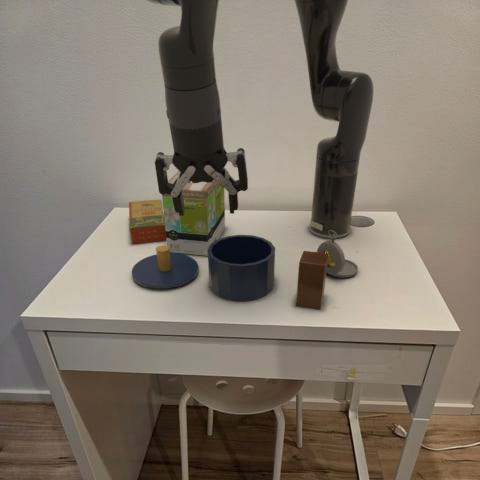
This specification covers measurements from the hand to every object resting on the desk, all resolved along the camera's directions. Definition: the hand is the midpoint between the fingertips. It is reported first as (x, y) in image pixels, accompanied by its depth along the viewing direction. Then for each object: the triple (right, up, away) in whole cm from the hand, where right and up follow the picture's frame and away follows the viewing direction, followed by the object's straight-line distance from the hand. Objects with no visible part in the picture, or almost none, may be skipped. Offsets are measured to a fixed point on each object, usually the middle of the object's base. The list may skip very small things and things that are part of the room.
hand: (207, 212), depth 74 cm
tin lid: (-10, -8, +15) cm, 19 cm away
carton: (-17, +4, +33) cm, 37 cm away
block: (+18, -15, +6) cm, 24 cm away
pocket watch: (+25, -9, +14) cm, 30 cm away
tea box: (-4, 0, +27) cm, 28 cm away
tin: (+6, -11, +11) cm, 17 cm away
